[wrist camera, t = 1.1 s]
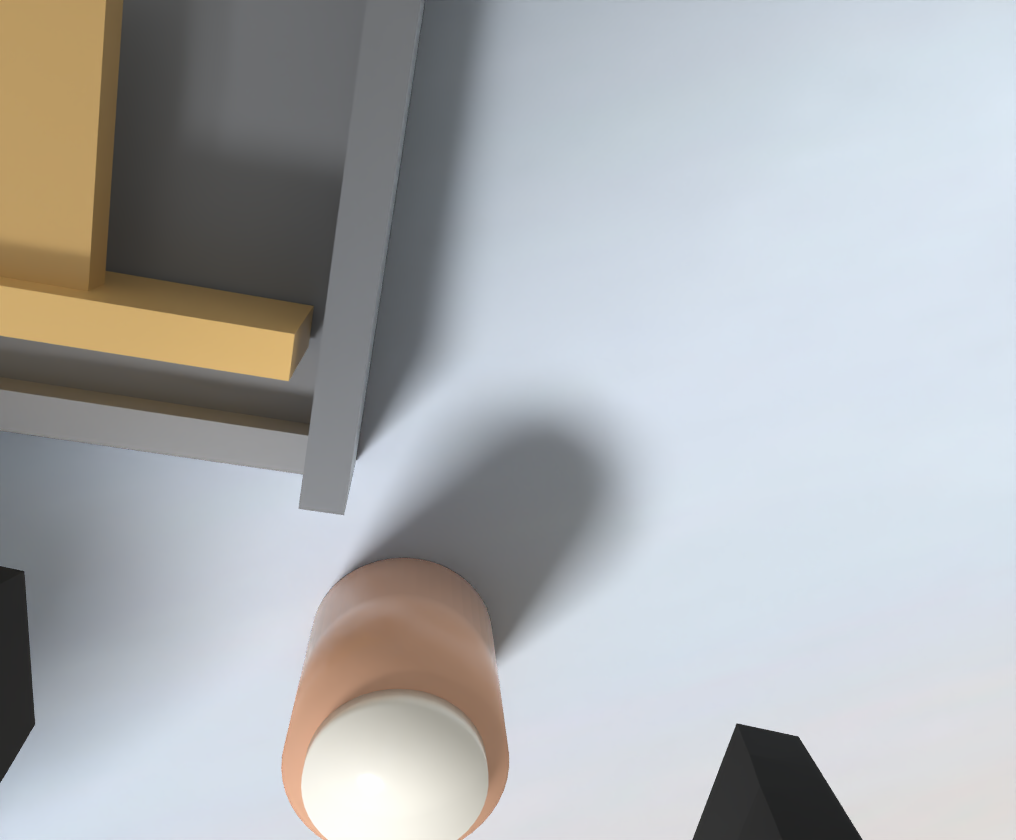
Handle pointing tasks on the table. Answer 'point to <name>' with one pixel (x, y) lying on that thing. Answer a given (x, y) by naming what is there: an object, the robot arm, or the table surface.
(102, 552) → the table surface
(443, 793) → the jar
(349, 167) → the lane
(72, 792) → the table surface
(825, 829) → the robot arm
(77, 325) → the pusher
